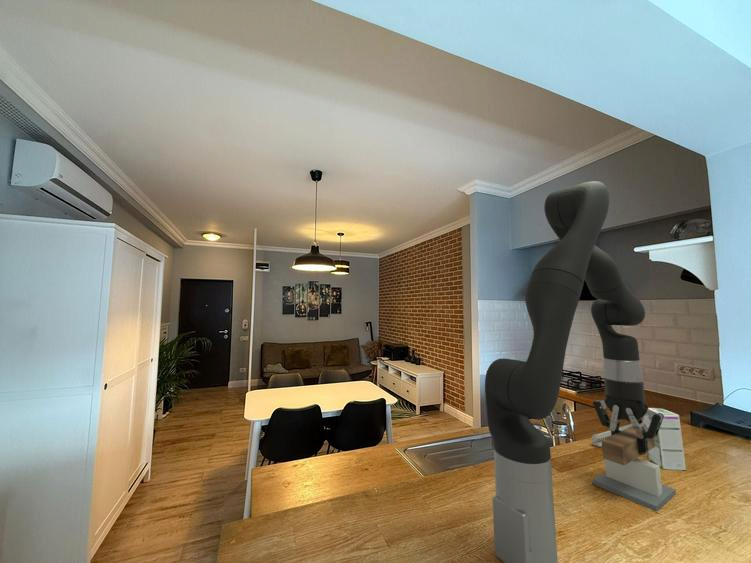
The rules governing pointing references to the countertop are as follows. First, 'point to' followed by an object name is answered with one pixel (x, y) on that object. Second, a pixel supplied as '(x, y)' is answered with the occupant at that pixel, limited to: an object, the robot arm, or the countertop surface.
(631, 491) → the board
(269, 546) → the countertop surface
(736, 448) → the countertop surface
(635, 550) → the countertop surface
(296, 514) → the countertop surface
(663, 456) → the syrup box
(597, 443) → the light grey flat bar
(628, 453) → the walnut bar
